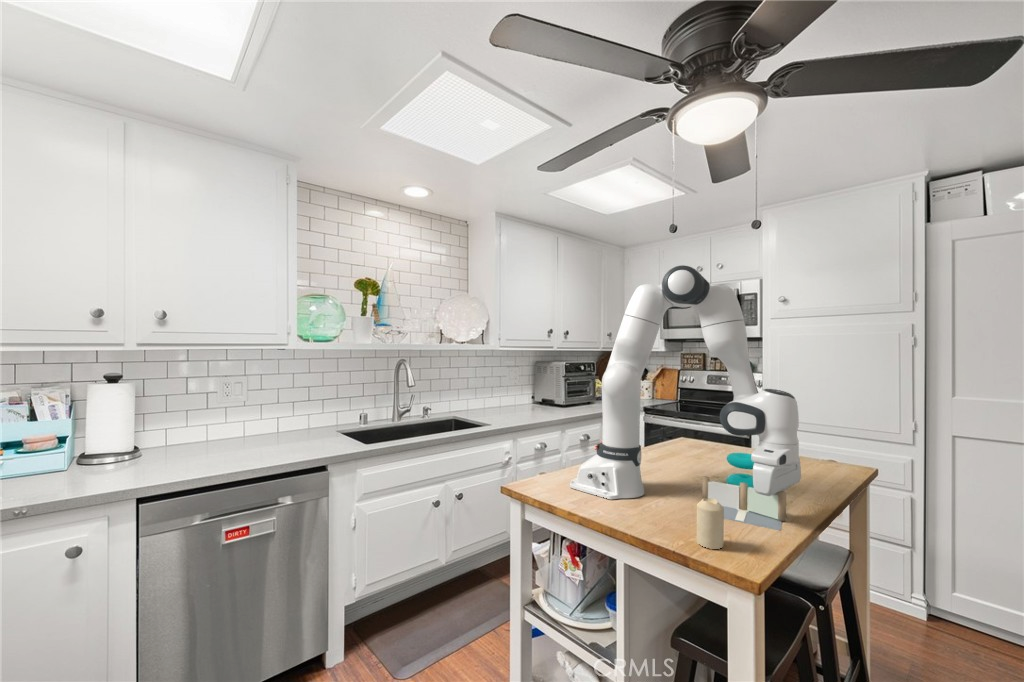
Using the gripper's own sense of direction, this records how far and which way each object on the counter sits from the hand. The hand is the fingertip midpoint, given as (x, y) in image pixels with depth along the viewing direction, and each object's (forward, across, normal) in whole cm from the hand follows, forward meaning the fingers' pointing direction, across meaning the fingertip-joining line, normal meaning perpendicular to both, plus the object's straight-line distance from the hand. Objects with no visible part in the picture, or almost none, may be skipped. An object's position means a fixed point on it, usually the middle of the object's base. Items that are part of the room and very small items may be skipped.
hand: (778, 505), depth 114 cm
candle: (+3, +29, -3) cm, 30 cm away
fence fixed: (+3, +4, -12) cm, 13 cm away
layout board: (+3, +4, -8) cm, 9 cm away
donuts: (+3, -18, -17) cm, 25 cm away
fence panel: (+3, +2, -2) cm, 4 cm away
